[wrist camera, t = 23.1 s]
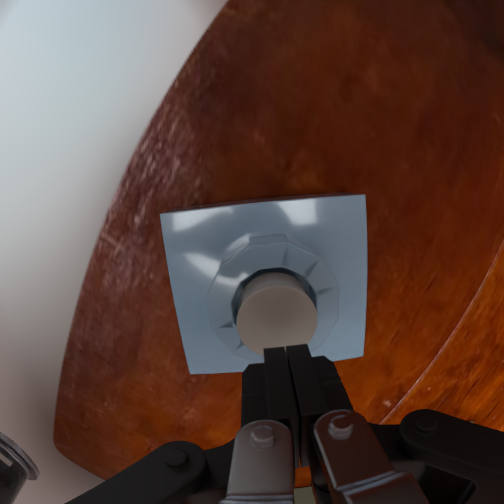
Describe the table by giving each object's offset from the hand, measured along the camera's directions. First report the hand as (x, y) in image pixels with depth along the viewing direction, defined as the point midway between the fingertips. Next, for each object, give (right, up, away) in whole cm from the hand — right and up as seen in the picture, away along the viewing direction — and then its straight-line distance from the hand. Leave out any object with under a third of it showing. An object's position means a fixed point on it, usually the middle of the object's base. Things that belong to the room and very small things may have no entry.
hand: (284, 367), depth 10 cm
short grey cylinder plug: (0, +1, +5) cm, 5 cm away
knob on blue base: (0, +2, +10) cm, 10 cm away
